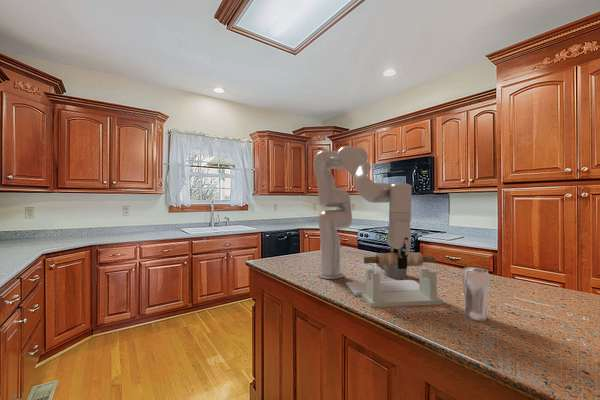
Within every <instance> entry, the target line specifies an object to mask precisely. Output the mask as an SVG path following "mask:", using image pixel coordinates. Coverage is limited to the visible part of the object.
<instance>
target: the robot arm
mask: <svg viewBox="0 0 600 400" xmlns="http://www.w3.org/2000/svg"><path fill="white" fill-rule="evenodd" d="M368 157H369V156H368V153H367V151H366V149H364V148H363V147H359V146H351V145H350V146H349V145H345V146H342V147H340V149H338V151H336V150H329V149H328V150H321V151H319V152H317V154H316V155H315V156H314V159H313V171H314V175H315V178H316V184H317V185H316V186H317V192H318V193H317V195H318V200H319V204H320V206H321V207H324V208H335V209H326V210H323V211H321V212H320V213H319V215H318V218H317V223H318V227H319V237H320V248H319V249H320V271H319V270H318V271H317V275H316V276H317V277H319V278H321V279H323V280H324V279H326V280H337V279H342V278H343V277H344V272H343V271H341V238H340V235H339V232H338V230H344V229H348V228H349V227H350V226H351V225H352V223H353V212H352V205H351V198H350V195H349V192H348V191H347V190H346V189H345V188H340V187H336V184H335V183H336V182H335V178H334V175H333V174H332V172H331V171H330V169H334V170H347V172H349V174H350V175H351V176H352V177H353V185H354V188H355V190H356V192H358V194H359V195H360V196H361V197H362V198H363V199H364V200H366V201H367V202H369V203H374V204H376V203H378V204H379V203H382V204H383V203H388V204H389V205H388V207H389V208H388V209H389V210H388V227H387V240H386V243H387V245H388V246H389V247H390V253H399V258H398V269H408V266H407V258H408V254H409V253H412V252H411V247H412V246H411V245H412V232H411V222H412V190H413V189H412V185H411V184H409V183H406V182H405V183H403V182H402V183H396V182H395V183H387V182H374V181H373V180H371V178H370V177H369V176H368V175H369V174H370V172H371V169H372V166H371V164H370V162H368V161H369V160H368Z"/></svg>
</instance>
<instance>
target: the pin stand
mask: <svg viewBox="0 0 600 400" xmlns="http://www.w3.org/2000/svg"><path fill="white" fill-rule="evenodd" d="M418 269H419V270H418V271H419V273H418V274H419V278H418V279H419V280H418V281H419V282H418V283H419V291H400V292H380V281H381V279H380V278H381V277H380V276H381V275H380V274H379V273H377V272H376V273H375V270H374V269H373V268H372V269H371V268H370V269H369V268H367V269H365V282H366V293H362V296H361V298H362V299H363V301H364V302H365V303H366V304H367V305H368V306H369V308H386V307H387V308H388V307H389V308H390V307H407V306H410V307H411V306H430V305H431V306H432V305H433V306H434V305H436V306H437V305H443V299H442V298H440V297H439V296H438V295H437V293H438V291H437V290H438V288H437V286H438V285H437V284H438V282H437V281H438V279H437V278H438V277H437V276H438V274H437V272H436V271H429V268H427V267H419V268H418Z"/></svg>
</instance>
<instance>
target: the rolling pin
mask: <svg viewBox="0 0 600 400" xmlns="http://www.w3.org/2000/svg"><path fill="white" fill-rule="evenodd" d="M398 258H399V253H391V252H377V253H376V254H375V256H363V258H362V259H363V263H364V265H365V264H375V265H376V266H377V267H379V268H380V267H390V266H398ZM434 262H435V256H434V255H423V254H422V253H421V252H410V253H409V254H408V258H407V267H421V266H423V264H425V263H434Z"/></svg>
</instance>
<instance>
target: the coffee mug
mask: <svg viewBox="0 0 600 400" xmlns="http://www.w3.org/2000/svg"><path fill="white" fill-rule="evenodd" d="M379 268H380V269H381V270H383V271H384V276H385V277H387V278H389V279H397V280H401V279H402V280H403V279H406V278H407V274H408V273H407V271H408V270H407V269H408V268H407V269H398V266H390V267H379Z"/></svg>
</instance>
